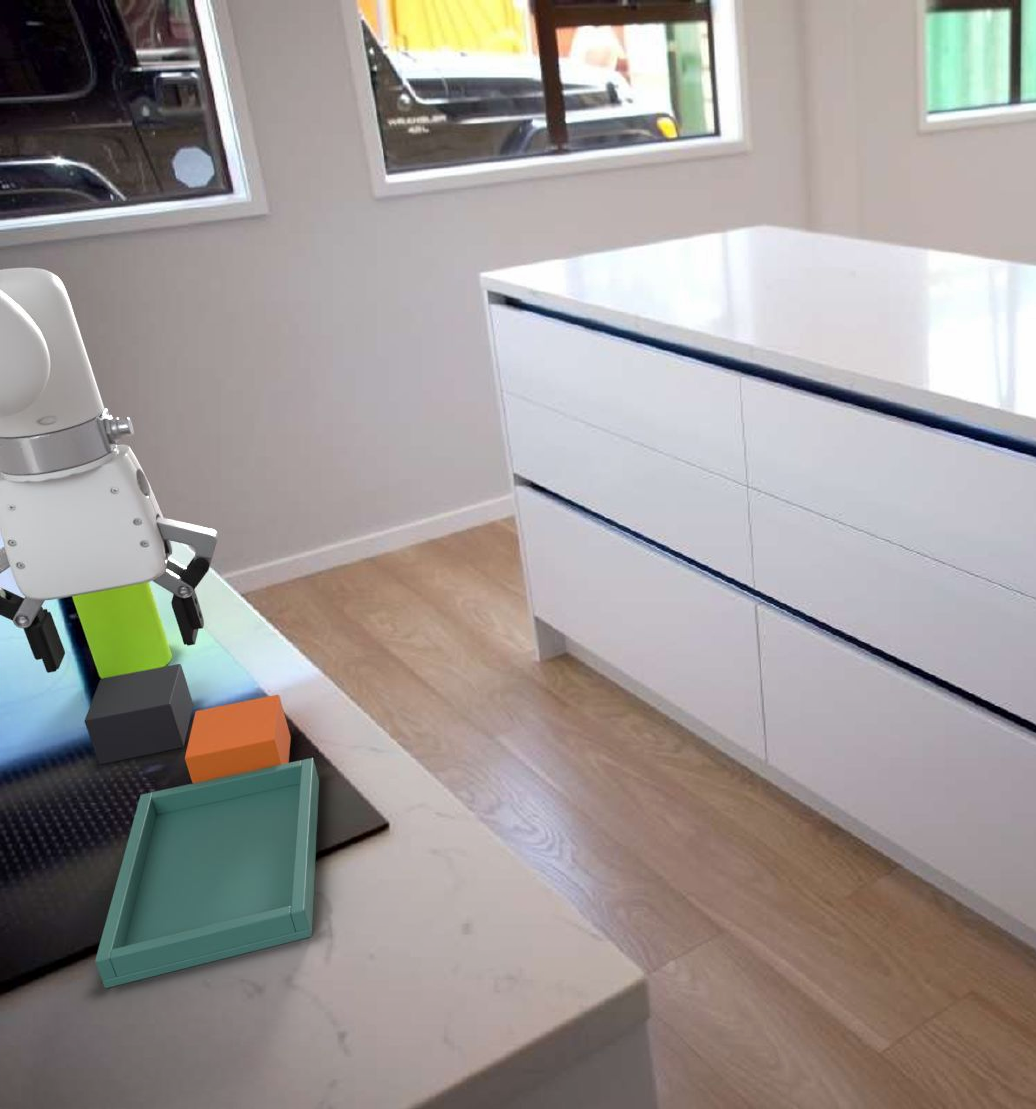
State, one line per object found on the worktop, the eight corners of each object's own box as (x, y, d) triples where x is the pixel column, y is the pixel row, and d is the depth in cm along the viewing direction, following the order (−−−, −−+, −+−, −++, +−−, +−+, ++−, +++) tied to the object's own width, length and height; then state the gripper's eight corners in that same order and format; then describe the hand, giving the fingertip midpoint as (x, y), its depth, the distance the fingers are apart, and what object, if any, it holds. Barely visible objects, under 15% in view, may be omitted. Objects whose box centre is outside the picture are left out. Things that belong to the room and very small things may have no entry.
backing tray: (104, 989, 75) (94, 961, 74) (148, 818, 90) (140, 794, 90) (311, 936, 78) (304, 909, 77) (319, 781, 94) (313, 757, 93)
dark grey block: (99, 765, 97) (83, 720, 96) (114, 720, 103) (100, 678, 102) (183, 747, 99) (170, 703, 97) (193, 704, 105) (180, 663, 103)
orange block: (198, 804, 92) (184, 758, 90) (208, 754, 98) (195, 710, 96) (286, 785, 93) (273, 739, 92) (291, 737, 99) (279, 693, 98)
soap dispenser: (76, 687, 109) (0, 470, 101) (126, 648, 115) (58, 441, 107) (138, 688, 108) (67, 469, 100) (185, 649, 114) (121, 440, 106)
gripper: (190, 410, 97) (247, 607, 104) (-67, 448, 92) (12, 652, 99) (178, 440, 90) (240, 649, 98) (-99, 483, 85) (-12, 698, 93)
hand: (125, 650), depth 98 cm, fingers open, 9 cm apart
